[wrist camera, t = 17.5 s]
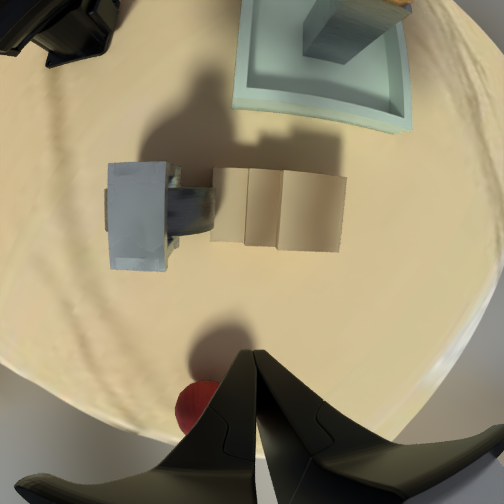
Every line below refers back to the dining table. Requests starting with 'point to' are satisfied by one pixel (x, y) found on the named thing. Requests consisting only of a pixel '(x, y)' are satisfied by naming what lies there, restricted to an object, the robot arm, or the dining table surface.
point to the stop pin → (348, 26)
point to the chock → (278, 209)
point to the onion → (193, 403)
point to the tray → (318, 72)
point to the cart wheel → (152, 213)
